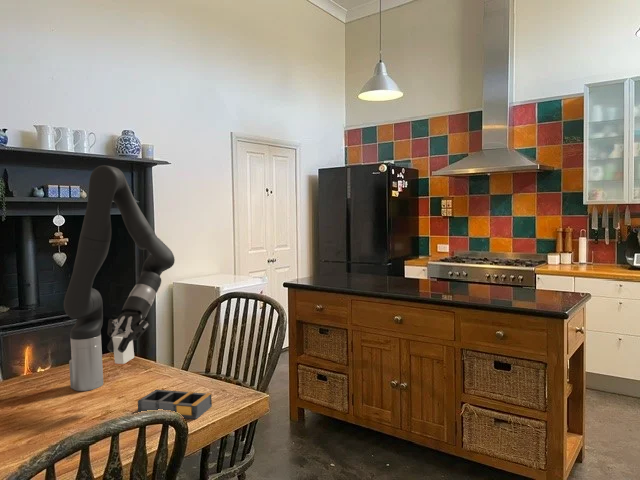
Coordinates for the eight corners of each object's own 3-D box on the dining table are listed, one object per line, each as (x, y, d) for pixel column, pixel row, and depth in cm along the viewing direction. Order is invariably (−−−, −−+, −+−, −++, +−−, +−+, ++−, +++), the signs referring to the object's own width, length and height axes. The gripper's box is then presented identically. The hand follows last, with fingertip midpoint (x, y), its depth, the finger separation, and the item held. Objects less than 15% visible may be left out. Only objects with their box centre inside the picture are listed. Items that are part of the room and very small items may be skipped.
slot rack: (137, 414, 134) (136, 400, 134) (156, 401, 143) (156, 388, 143) (195, 419, 130) (194, 405, 129) (211, 406, 138) (211, 392, 138)
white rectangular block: (115, 363, 139) (112, 337, 138) (125, 356, 144) (123, 331, 143) (123, 363, 138) (121, 337, 137) (134, 357, 143) (131, 332, 142)
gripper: (114, 294, 147) (87, 343, 136) (153, 295, 144) (129, 345, 132) (126, 307, 153) (101, 355, 141) (164, 309, 149) (141, 358, 138)
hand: (115, 350), depth 137 cm, fingers closed on white rectangular block, 3 cm apart
